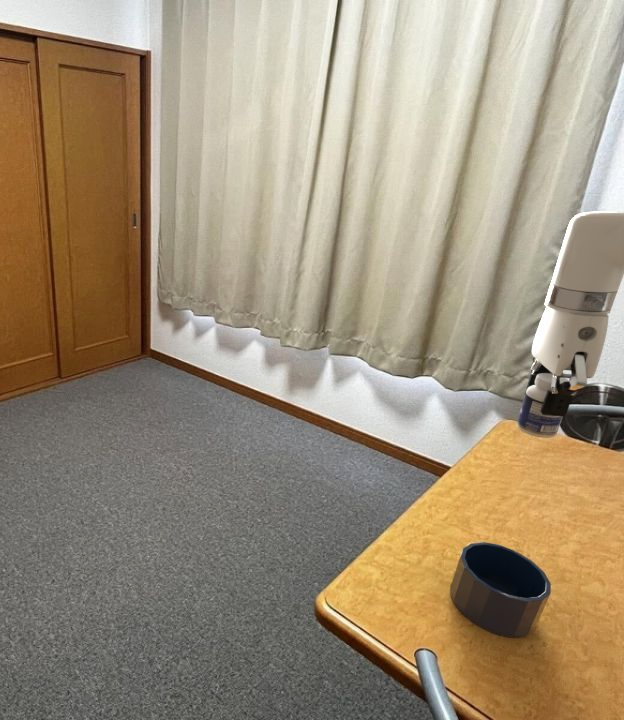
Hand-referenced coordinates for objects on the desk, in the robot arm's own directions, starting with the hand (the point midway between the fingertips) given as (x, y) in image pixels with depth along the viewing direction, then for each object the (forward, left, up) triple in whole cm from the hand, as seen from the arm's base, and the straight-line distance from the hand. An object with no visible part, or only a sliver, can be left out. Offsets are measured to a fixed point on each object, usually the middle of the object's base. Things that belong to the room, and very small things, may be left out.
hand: (544, 404), depth 78 cm
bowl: (+12, +28, -18) cm, 35 cm away
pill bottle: (0, 0, -5) cm, 5 cm away
